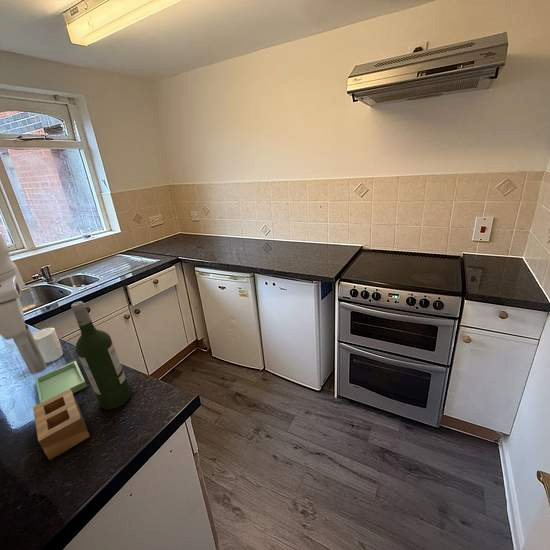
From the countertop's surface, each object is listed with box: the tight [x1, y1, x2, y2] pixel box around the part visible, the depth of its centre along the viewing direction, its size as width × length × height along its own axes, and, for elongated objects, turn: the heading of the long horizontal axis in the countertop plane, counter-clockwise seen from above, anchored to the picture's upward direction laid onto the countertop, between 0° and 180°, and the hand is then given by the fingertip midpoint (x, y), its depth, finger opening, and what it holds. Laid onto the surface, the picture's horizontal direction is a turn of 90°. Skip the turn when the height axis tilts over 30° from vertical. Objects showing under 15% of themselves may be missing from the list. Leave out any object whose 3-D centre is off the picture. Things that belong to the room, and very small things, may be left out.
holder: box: [32, 389, 91, 461], centre depth 74 cm, size 15×8×6 cm, turn 42°
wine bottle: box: [70, 300, 132, 410], centre depth 77 cm, size 8×8×30 cm
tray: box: [34, 360, 88, 404], centre depth 91 cm, size 15×11×2 cm
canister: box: [12, 322, 48, 375], centre depth 71 cm, size 3×3×12 cm
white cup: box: [32, 327, 64, 364], centre depth 105 cm, size 8×8×10 cm
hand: (23, 339), depth 70 cm, fingers closed on canister, 3 cm apart
